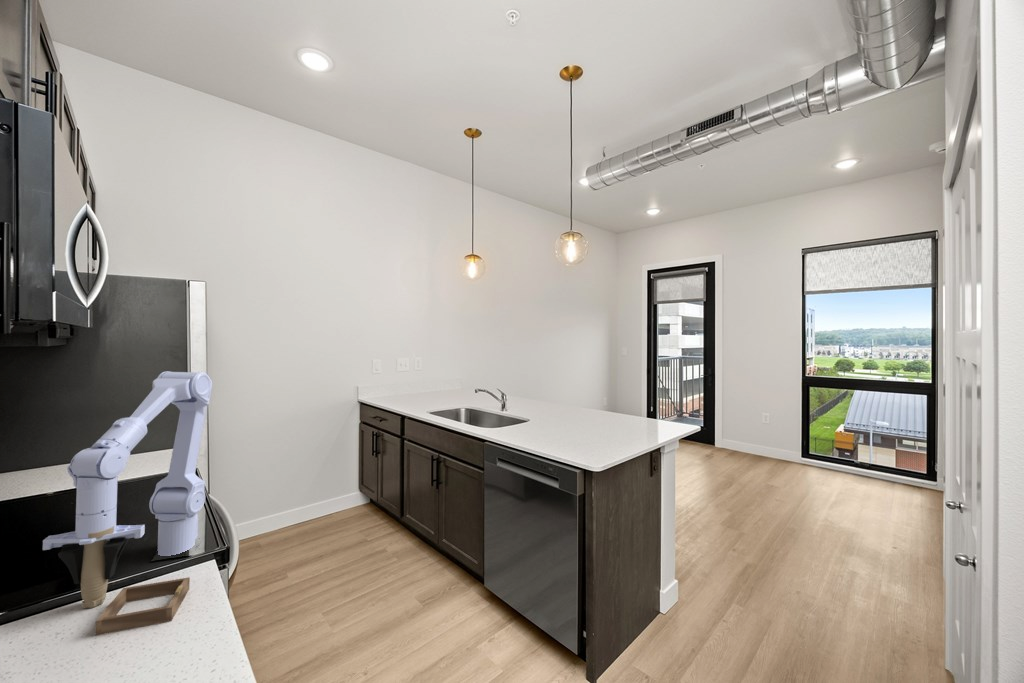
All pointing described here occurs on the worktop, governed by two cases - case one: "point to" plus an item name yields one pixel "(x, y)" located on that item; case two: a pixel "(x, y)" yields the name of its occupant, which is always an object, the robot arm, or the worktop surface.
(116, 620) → the collar
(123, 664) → the worktop surface
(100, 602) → the handle
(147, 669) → the worktop surface
